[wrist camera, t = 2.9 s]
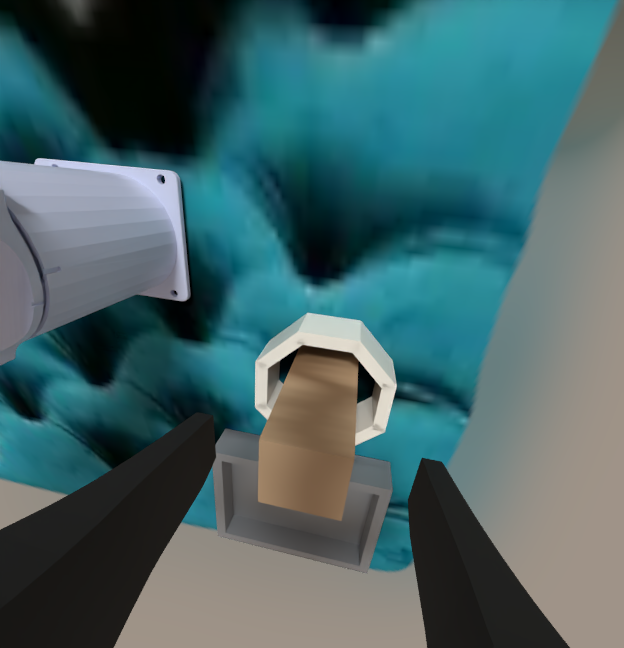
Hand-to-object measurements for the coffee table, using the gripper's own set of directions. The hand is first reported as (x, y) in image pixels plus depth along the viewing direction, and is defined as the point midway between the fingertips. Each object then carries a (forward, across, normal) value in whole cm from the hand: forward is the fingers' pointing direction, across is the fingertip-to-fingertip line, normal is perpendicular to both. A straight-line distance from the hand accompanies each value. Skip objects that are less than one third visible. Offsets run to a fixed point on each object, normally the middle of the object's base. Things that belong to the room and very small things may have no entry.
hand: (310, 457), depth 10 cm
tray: (+10, +2, +16) cm, 19 cm away
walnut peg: (+10, 0, +3) cm, 11 cm away
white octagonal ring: (+10, 0, +3) cm, 11 cm away
